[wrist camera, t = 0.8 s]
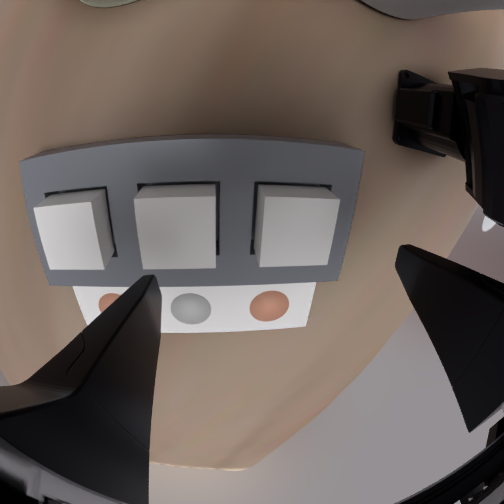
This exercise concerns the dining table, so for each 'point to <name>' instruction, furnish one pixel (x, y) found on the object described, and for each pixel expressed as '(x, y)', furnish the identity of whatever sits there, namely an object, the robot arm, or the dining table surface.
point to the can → (106, 2)
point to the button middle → (177, 226)
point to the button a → (75, 230)
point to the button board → (196, 172)
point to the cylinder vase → (431, 7)
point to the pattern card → (215, 306)
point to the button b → (294, 225)
